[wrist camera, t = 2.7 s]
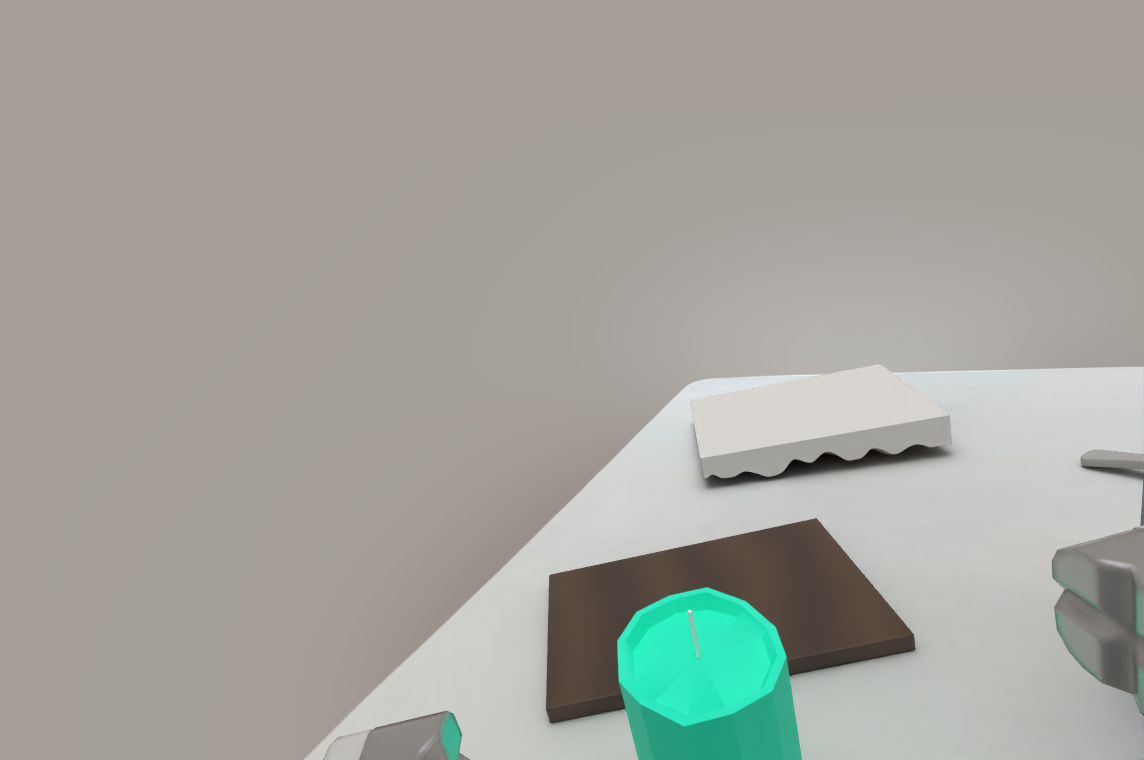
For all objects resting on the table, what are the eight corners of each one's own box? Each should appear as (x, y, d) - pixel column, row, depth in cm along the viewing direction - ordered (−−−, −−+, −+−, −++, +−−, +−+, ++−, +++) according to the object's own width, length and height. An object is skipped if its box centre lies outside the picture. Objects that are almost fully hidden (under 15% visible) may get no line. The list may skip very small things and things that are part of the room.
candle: (678, 771, 27) (629, 556, 24) (815, 793, 25) (782, 559, 22) (651, 918, 22) (582, 670, 19) (821, 965, 20) (778, 691, 16)
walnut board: (550, 723, 31) (545, 709, 31) (552, 585, 43) (549, 574, 43) (915, 649, 31) (914, 634, 30) (818, 529, 42) (816, 517, 42)
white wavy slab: (707, 492, 51) (952, 452, 47) (700, 458, 50) (949, 415, 46) (695, 428, 65) (883, 393, 61) (689, 400, 64) (879, 364, 61)
